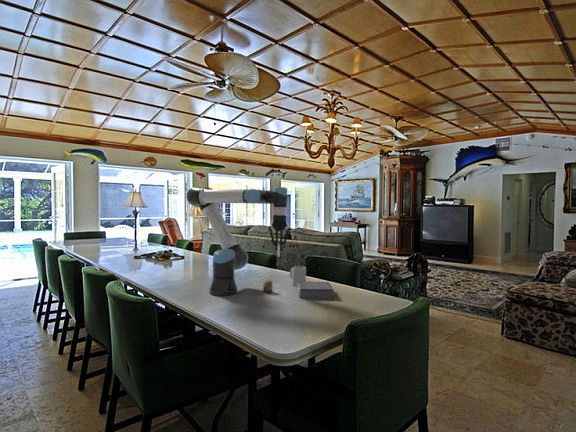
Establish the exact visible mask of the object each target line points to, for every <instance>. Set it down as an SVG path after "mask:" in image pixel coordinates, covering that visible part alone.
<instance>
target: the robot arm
mask: <svg viewBox="0 0 576 432" xmlns="http://www.w3.org/2000/svg"><path fill="white" fill-rule="evenodd" d="M186 201H187V202H188V204H189V205H191V206H192V207H196V208H197V207H199V209H200V211H201V213H202V214H205V216H206V218H207V220H208V222H209V224H210V227H211V228H212V232H214V235H215V236H216V239H217V241H218V243H219V245H220V247H221V249H218V250H216V251H214V253H213V256H212V262H213V263H212V281H211V284H210V287H209V294H210V295H212V296H217V297H220V296H221V297H225V296H226V297H227V296H233V295H236V294H237V293H238V286H237V283H236V280H235V271H237V270H241V269H242V268H244V267H245V266H246V265H247V264H248V262H249V255H248V252H247V250H245V249H244V248H242V246H241V245H240V243H238V242H236V240H235V238H234V236H233V235H232V232H231V231H230V229H229V227H228V225H227V222H226V221H225V219H224V216H223V214H222V212H221V210H220V208H219V207H220V204H251V205H252V204H253V205H254V204H258V205H259V204H265V205H267V204H270V205H273V207H272V208H273V209H272V210H273V211H272V213H273V214H272V223H271V225H269V226H268V227H267V229H268V231H269V233H270V238H271V244H273V245H275V248H274V249H275V250H274V251H276V257H277V258H280V256H281V252H283V245H286V242H287V239H288V235H289V232H290V231H291V227H290V226H288V224H287V210H288V188H287V187H285V186H274V187H273V190H263V189H255V188H250V189H246V188H245V189H244V188H243V189H242V188H241V189H240V188H239V189H233V188H231V189H230V188H229V189H214V188H211V187H208V186H207V187H204V186H192V187H191V188H189V189H188V191H187V192H186ZM273 229H274V231H275V236H274V233H273ZM285 230H286V232H285V236H284V238H283V232H284V231H285ZM279 232H280V235H279ZM274 237H275V238H274ZM278 241H279V242H278ZM278 243H279V244H278Z"/></svg>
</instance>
